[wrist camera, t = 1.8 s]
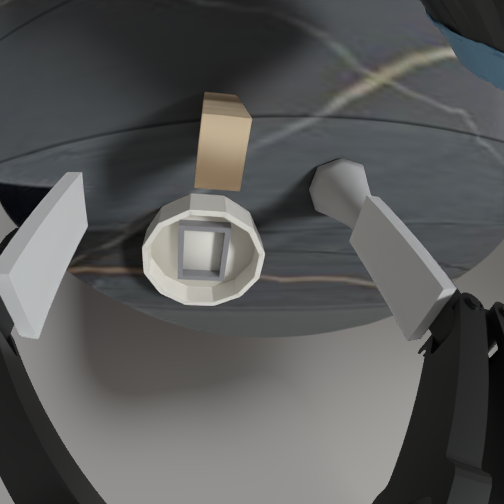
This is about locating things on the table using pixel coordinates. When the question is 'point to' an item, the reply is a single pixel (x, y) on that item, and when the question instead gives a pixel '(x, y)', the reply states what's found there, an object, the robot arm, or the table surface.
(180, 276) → the white round dish
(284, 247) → the table surface
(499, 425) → the robot arm
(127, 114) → the table surface
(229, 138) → the wooden block
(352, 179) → the flask
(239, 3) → the table surface
